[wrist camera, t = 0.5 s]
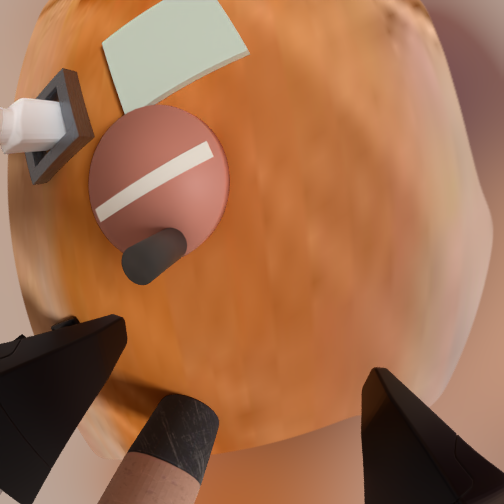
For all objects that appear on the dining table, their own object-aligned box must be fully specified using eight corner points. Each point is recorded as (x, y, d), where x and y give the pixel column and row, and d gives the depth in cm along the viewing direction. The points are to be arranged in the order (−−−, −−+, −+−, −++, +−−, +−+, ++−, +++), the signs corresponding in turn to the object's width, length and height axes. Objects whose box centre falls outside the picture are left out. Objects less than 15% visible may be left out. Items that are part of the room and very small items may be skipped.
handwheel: (133, 275, 19) (90, 306, 14) (83, 156, 17) (32, 160, 12) (256, 224, 16) (237, 248, 11) (192, 80, 14) (151, 52, 9)
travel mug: (164, 381, 25) (70, 534, 6) (231, 412, 25) (172, 580, 6) (154, 414, 27) (83, 536, 9) (211, 440, 27) (160, 571, 8)
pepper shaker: (71, 101, 18) (-10, 92, 9) (72, 140, 19) (-13, 143, 10) (47, 115, 18) (-27, 114, 9) (48, 152, 20) (-29, 160, 11)
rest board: (132, 120, 17) (126, 118, 17) (106, 45, 16) (101, 42, 15) (250, 54, 15) (248, 49, 14) (206, -16, 13) (203, -21, 12)
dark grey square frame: (47, 182, 20) (32, 185, 19) (32, 120, 19) (19, 120, 17) (94, 136, 18) (78, 136, 16) (76, 71, 17) (62, 68, 15)
